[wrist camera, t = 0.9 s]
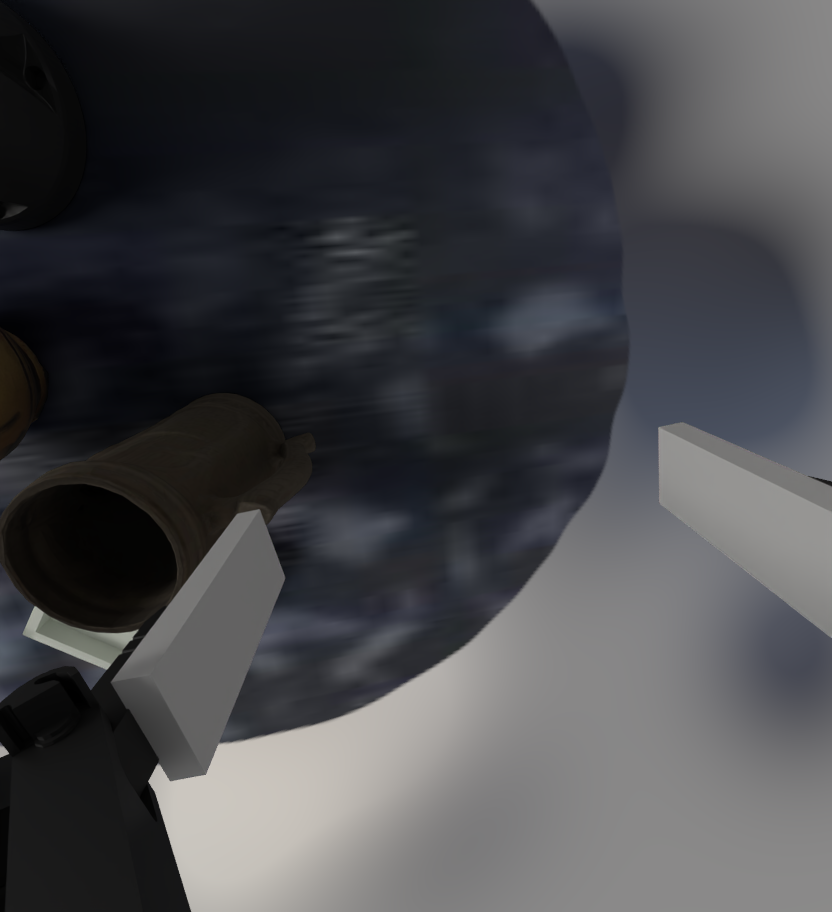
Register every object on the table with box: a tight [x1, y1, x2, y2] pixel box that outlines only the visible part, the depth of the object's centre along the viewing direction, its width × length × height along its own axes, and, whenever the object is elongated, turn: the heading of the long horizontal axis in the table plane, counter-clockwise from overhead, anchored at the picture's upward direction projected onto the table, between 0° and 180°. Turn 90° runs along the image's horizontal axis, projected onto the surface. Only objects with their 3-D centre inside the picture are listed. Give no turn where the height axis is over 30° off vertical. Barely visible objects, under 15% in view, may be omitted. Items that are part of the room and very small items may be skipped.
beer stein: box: [0, 393, 316, 633], centre depth 32 cm, size 15×11×20 cm
